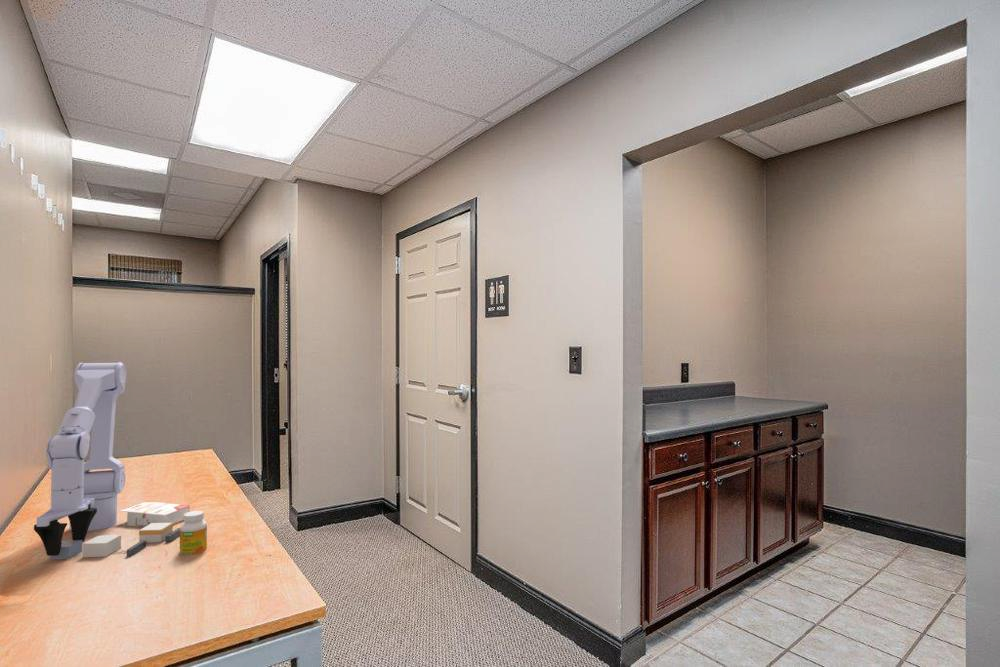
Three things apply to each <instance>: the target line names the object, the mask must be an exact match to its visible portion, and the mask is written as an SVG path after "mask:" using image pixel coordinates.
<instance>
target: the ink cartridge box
mask: <svg viewBox="0 0 1000 667" xmlns="http://www.w3.org/2000/svg"><path fill="white" fill-rule="evenodd" d="M190 507H191V506H190V505H187V504H177V503H169V502H168V503H166V502H157V501H156V502H155V501H154V502H153V501H151V502H150V501H146V502H145V501H144V502H142V503H139V504H138V503H137V504H136V505H133V506H130V507H126V508H124V509H121V510H119V511H118V512H120V513H122V512H123V513H124V512H125V513H127V516H126V517H127V521H126V525H127V526H131V527H143V528H144V527H146V526H148V525H149V524H151V523H173V525H174V524H177V523H179V522H181V521H184V514H185V513H188V512H190Z"/></svg>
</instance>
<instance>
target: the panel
mask: <svg viewBox="0 0 1000 667" xmlns="http://www.w3.org/2000/svg"><path fill="white" fill-rule="evenodd" d="M177 538H180V527H178V528H176V529H175V530H174V529H173V532H171V533H170V534H168V535H167V536H165V540H164V541H165V544H169V543H171V542H173V541H174V540H176V539H177ZM132 540H135V538H133V539H132ZM146 548H147V543H146V540H142V541H140V542H139V541H138V542H137V543H135V544H133V545H132V546H130V547H129V548H127V549H126V550H121V555H125V554H126V558H127V557H133V556H134V555H136V554H138V553H139V552H141V551H142V550H144V549H146ZM117 554H120V551H117Z"/></svg>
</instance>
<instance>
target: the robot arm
mask: <svg viewBox="0 0 1000 667" xmlns="http://www.w3.org/2000/svg"><path fill="white" fill-rule="evenodd" d="M73 377H74V383H75V384H76V387H77V389H78V392H77V394H76V399H75V403H74V406H73V407H72V408H69V409H68V410H67V411H66V412H65V415H64V417H63V419H62V421H61V424H60V426H59V429H58V431H57V433H56V435H54V436H53V437H50V438H49V439H48V442H47V445H46V451H45V453H46V459H47V462H48V469H49V470H50V472H51V473H50V476H51V477H50V479H51V480H50V509H48V510H47V511H45V512H44V513H43V514H42V515H40V516H37V517H36V524H34V525H33V531H35V533H36V534H37V535H38V536H39V537H40V540H41V542H42V544H43V547H44V549H45V553H46V556H48V557H50V556H56V555H59V553H60V550H61V542H62V540H63V536H64V533H65V530H66V527H67V525H68V523H67V522H63V523H60V521H59V520H61V519H64V518H66V517H67V518H68V520H69V531H71V539H72V540H82V543H85V542H86V541H85V540H86V538H87V534H88V531H98V530H104V529H107V528H111V527H114V526H116V525H117V524H118V495H119V494H121V493H122V491H124V488H125V485H126V473H125V464H124V463H123V462H122V461H120V460H118V459H117V458H115V457H114V456H113V454H114V439H115V438H114V437H115V423H116V408H117V406H116V405H117V400H118V396H119V395H121V394H123V393H125V389H126V384H127V370H126V366H125V364H124V363H123V362H121V361H119V362H79V363H78V364H77V365H76V367H75V369H74V376H73ZM90 432H91V436H90ZM89 450H90V455H89V460H87V461H86V462H85V458H87V456H88V453H89ZM107 469H108V470H107ZM95 470H97V471H95Z"/></svg>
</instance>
